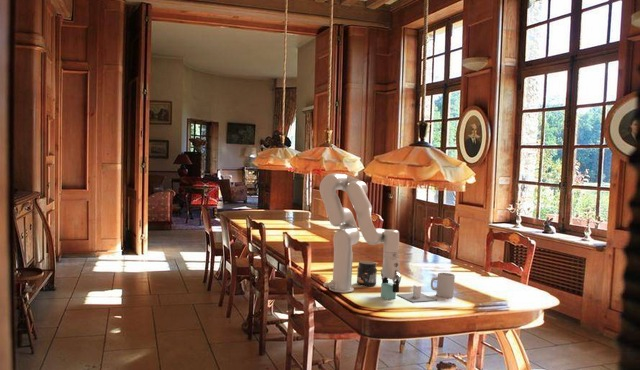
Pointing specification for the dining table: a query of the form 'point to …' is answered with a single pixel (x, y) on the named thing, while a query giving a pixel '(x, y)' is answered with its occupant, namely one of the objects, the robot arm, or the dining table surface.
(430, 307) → the dining table surface
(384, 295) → the teal rectangular block
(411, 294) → the grey plate with knob
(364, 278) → the supplement container
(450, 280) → the mug
